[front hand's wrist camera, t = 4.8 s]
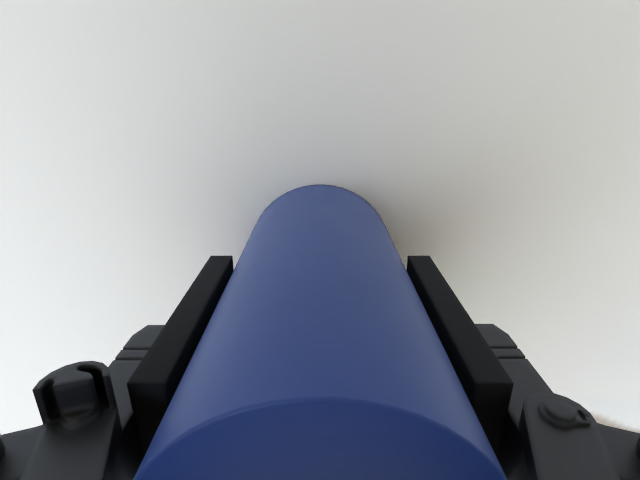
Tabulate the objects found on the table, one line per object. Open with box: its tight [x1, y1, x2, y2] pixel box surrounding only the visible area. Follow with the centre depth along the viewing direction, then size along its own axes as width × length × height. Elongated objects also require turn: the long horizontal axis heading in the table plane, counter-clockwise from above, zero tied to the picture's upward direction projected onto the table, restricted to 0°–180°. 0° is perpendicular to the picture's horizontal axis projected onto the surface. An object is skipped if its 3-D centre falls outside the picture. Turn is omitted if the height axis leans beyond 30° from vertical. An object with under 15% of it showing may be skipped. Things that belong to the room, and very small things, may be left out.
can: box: [133, 185, 507, 480], centre depth 12 cm, size 6×6×12 cm
